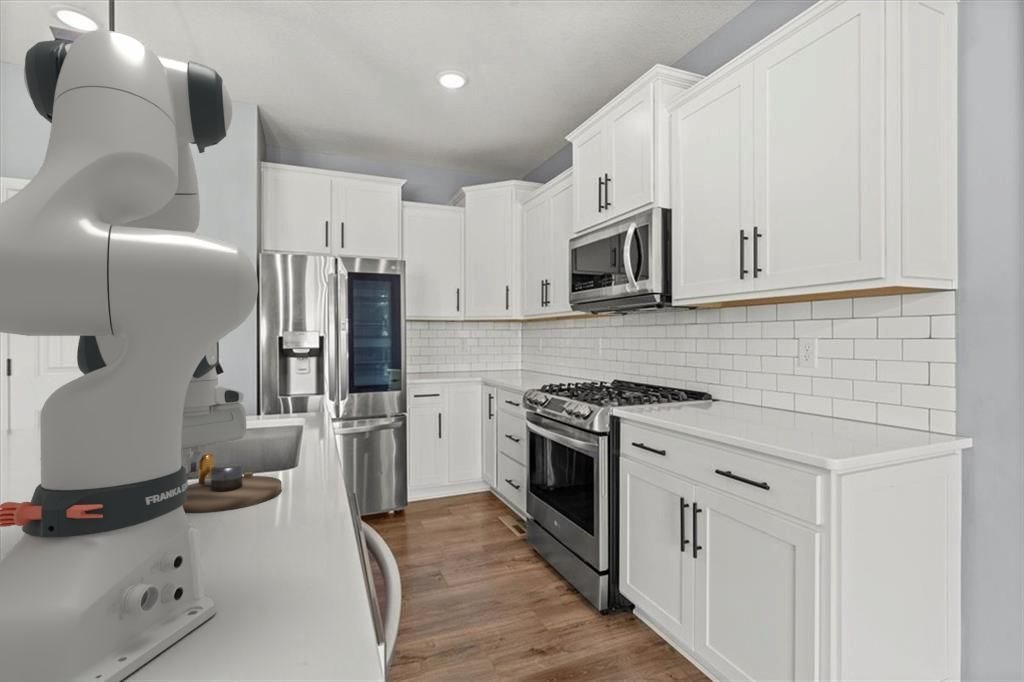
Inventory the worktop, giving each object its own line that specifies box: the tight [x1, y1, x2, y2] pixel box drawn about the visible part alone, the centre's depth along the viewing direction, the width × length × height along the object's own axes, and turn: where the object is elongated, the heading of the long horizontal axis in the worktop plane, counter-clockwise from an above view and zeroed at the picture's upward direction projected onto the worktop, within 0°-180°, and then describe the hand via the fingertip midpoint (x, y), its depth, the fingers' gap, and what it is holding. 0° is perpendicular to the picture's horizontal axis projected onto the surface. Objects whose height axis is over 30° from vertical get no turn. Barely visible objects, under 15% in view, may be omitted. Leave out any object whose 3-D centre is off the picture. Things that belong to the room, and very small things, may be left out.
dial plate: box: [183, 472, 283, 514], centre depth 94 cm, size 18×18×2 cm
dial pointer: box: [198, 453, 244, 491], centre depth 95 cm, size 10×5×5 cm, turn 60°
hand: (190, 472), depth 95 cm, fingers closed
